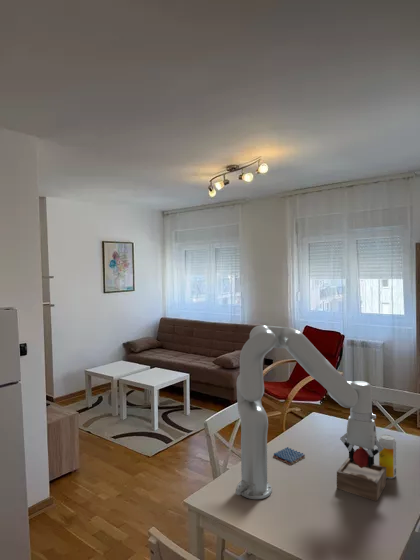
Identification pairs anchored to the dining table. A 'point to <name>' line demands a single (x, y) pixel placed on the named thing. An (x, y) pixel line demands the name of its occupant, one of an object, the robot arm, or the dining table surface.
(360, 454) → the pomegranate
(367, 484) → the walnut tray
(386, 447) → the beer can
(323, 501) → the dining table surface
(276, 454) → the woven mat
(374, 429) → the robot arm
